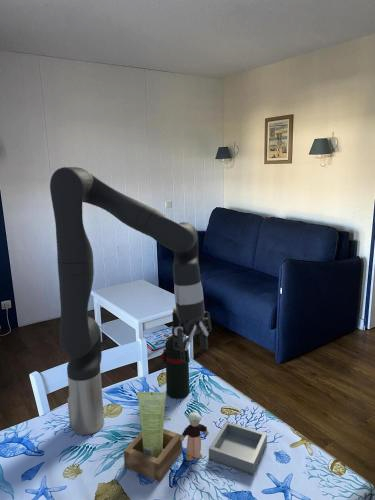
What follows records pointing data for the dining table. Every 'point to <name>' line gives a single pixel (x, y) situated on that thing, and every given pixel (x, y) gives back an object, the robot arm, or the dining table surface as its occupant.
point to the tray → (238, 447)
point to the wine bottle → (175, 367)
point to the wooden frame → (150, 464)
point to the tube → (152, 421)
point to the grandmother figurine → (194, 436)
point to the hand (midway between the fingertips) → (195, 355)
